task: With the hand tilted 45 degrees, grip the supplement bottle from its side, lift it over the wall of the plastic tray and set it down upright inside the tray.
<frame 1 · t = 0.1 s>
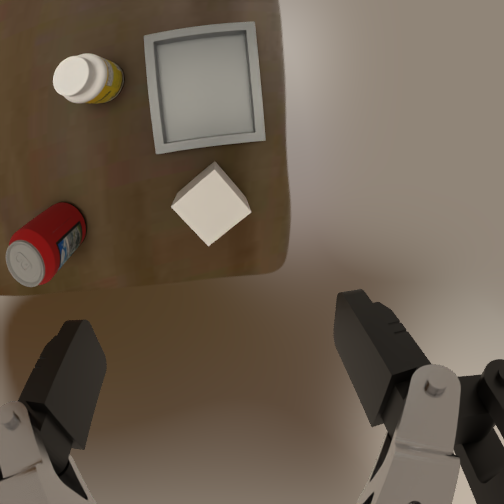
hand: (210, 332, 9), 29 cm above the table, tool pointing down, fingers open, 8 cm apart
beverage can: (67, 223, 36), on the table
supplement bottle: (105, 82, 29), on the table
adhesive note: (211, 194, 37), on the table
tray: (204, 86, 31), on the table
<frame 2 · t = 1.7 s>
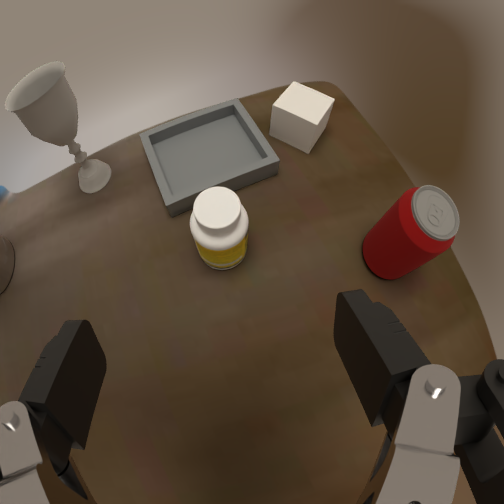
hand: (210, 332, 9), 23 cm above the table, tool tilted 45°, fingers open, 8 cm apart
beverage can: (384, 254, 35), on the table
supplement bottle: (223, 247, 34), on the table
chalice: (95, 177, 37), on the table
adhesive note: (297, 132, 40), on the table
tray: (207, 158, 38), on the table
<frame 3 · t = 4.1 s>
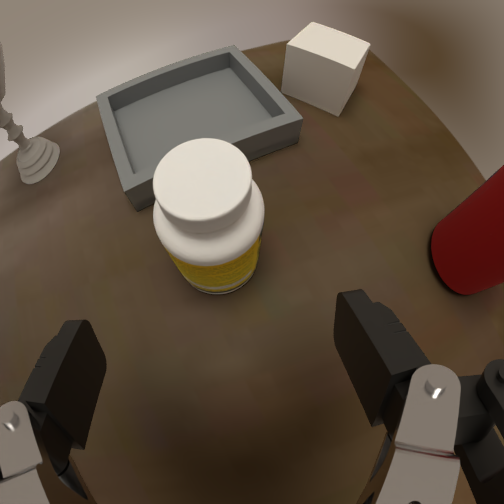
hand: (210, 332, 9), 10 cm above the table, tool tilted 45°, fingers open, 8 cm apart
beverage can: (455, 258, 21), on the table
supplement bottle: (218, 257, 21), on the table
chalice: (40, 163, 24), on the table
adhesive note: (319, 90, 27), on the table
tray: (192, 124, 25), on the table
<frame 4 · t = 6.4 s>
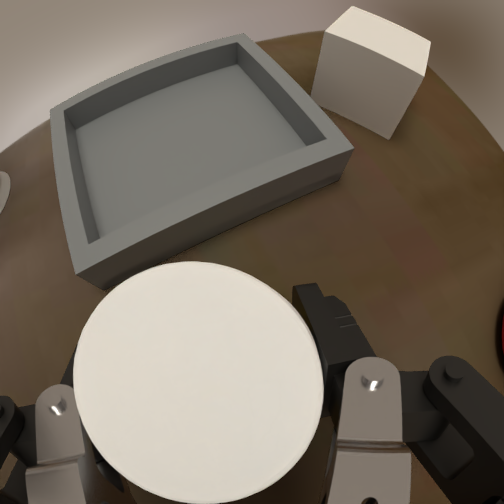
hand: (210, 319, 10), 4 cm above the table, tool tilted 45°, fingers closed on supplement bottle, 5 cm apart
supplement bottle: (226, 368, 13), on the table, touching gripper
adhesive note: (360, 99, 20), on the table
tray: (183, 148, 17), on the table
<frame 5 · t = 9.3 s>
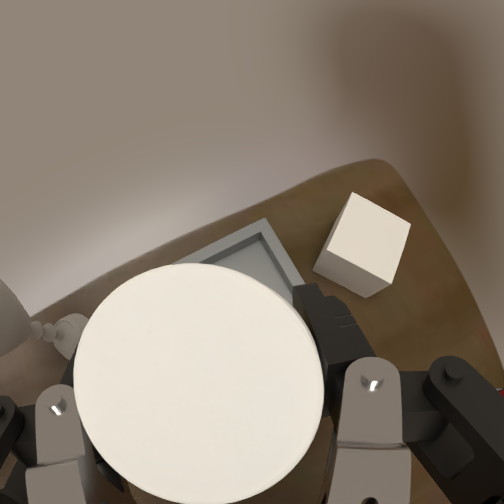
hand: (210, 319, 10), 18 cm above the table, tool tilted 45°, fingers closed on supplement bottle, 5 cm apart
supplement bottle: (226, 368, 13), point 13 cm above the table, touching gripper
chalice: (76, 337, 26), on the table
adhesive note: (350, 259, 30), on the table
tray: (227, 319, 27), on the table
when the fingers open (7 cm above the table, at t = 12.2 s): supplement bottle drops 2 cm, resting on tray.
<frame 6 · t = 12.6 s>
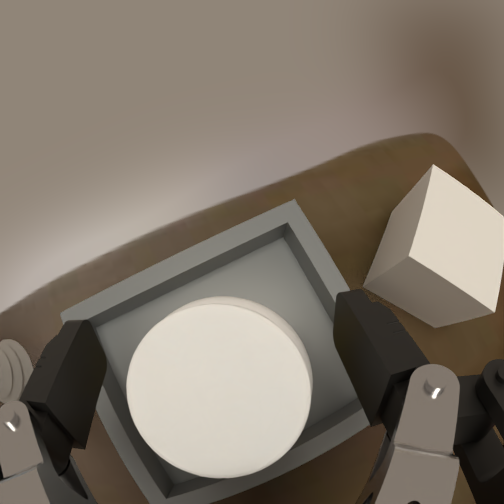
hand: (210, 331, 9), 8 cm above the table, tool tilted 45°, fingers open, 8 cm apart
supplement bottle: (231, 370, 15), point 1 cm above the table, touching tray
chalice: (12, 373, 15), on the table
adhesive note: (413, 269, 18), on the table
tray: (229, 366, 16), on the table
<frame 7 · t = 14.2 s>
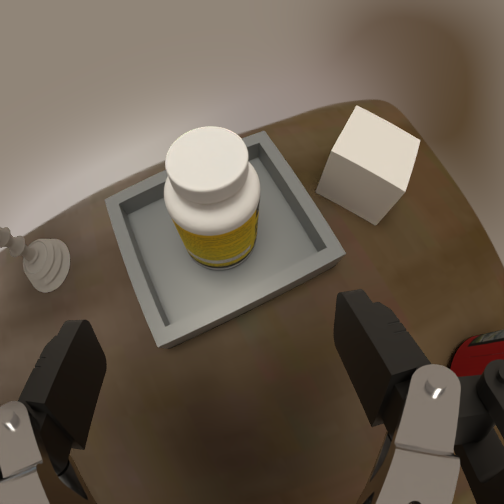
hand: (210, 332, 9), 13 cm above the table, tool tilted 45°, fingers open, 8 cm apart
beverage can: (469, 372, 21), on the table
supplement bottle: (220, 237, 23), point 1 cm above the table, touching tray
chalice: (49, 265, 23), on the table
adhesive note: (356, 185, 26), on the table
tray: (219, 239, 24), on the table
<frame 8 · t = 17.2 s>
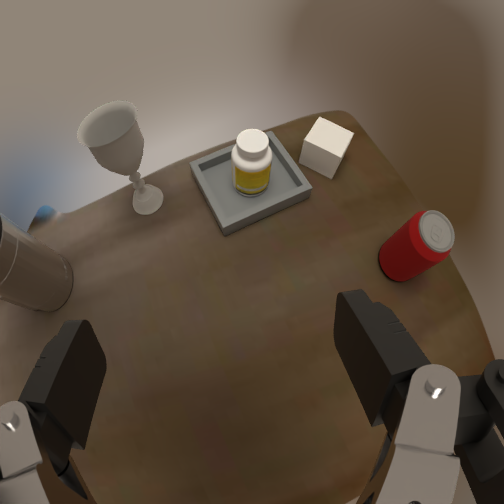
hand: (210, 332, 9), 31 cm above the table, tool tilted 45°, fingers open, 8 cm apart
beverage can: (395, 261, 43), on the table
supplement bottle: (250, 182, 45), point 1 cm above the table, touching tray
chalice: (148, 200, 45), on the table
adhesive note: (321, 159, 49), on the table
tray: (249, 184, 46), on the table
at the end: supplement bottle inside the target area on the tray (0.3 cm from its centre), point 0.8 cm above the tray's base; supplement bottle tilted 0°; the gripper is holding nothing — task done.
